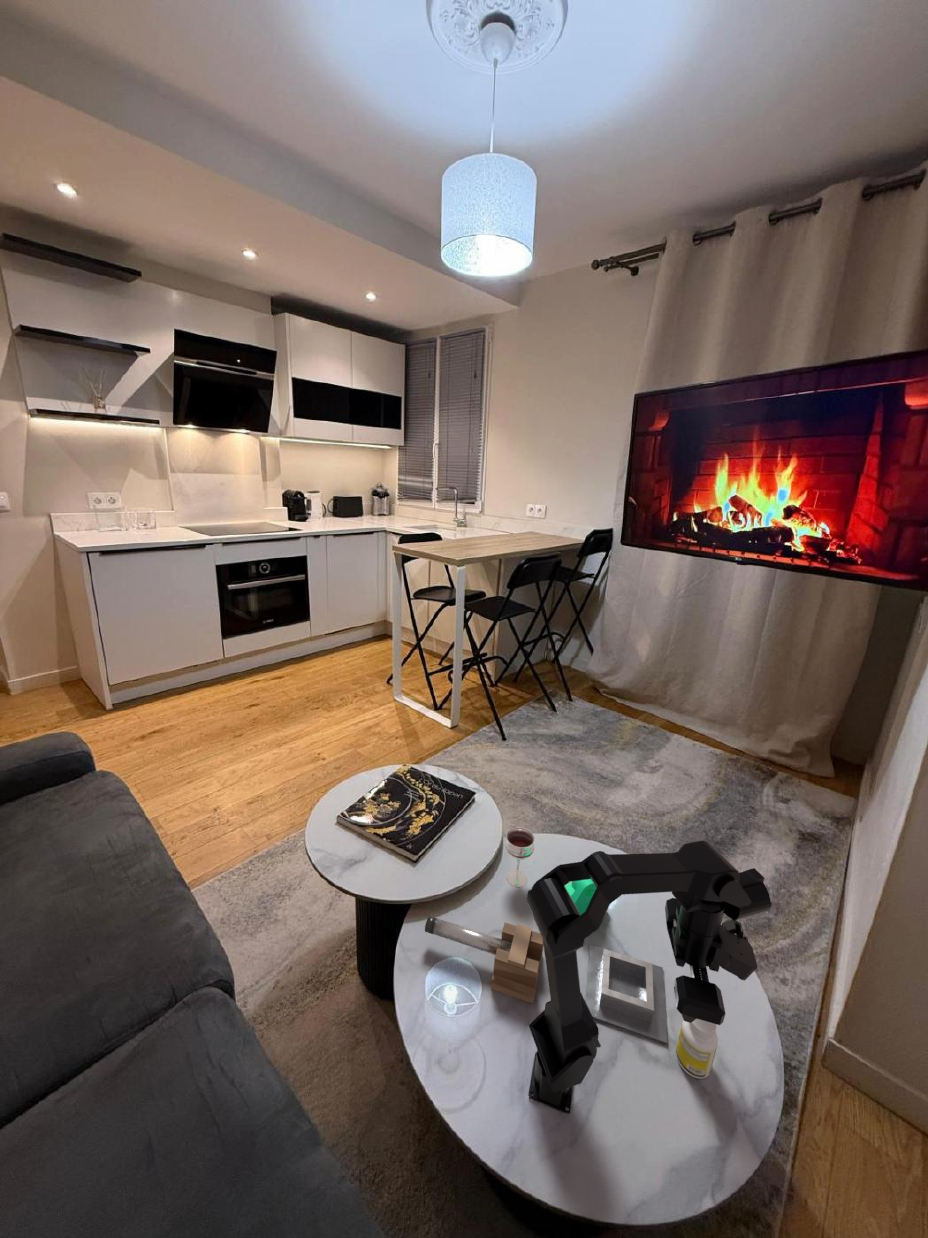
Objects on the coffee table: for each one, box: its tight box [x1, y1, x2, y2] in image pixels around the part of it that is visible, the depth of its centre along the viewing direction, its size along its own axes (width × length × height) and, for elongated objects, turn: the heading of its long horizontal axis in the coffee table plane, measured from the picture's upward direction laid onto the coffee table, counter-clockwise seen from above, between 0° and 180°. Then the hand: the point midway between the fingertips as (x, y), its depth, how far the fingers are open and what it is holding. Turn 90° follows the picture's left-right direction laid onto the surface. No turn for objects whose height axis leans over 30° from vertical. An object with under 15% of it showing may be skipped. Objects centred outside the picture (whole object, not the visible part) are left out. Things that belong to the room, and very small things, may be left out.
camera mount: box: [565, 879, 596, 915], centre depth 108 cm, size 12×8×10 cm, turn 114°
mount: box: [490, 921, 544, 1004], centre depth 94 cm, size 10×8×7 cm
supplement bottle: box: [675, 1019, 719, 1080], centre depth 80 cm, size 5×5×10 cm
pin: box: [424, 915, 512, 955], centre depth 97 cm, size 18×3×3 cm, turn 72°
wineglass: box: [504, 826, 536, 888], centre depth 115 cm, size 7×7×12 cm
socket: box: [584, 944, 668, 1046], centre depth 92 cm, size 14×14×4 cm
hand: (683, 992), depth 81 cm, fingers open, 9 cm apart
